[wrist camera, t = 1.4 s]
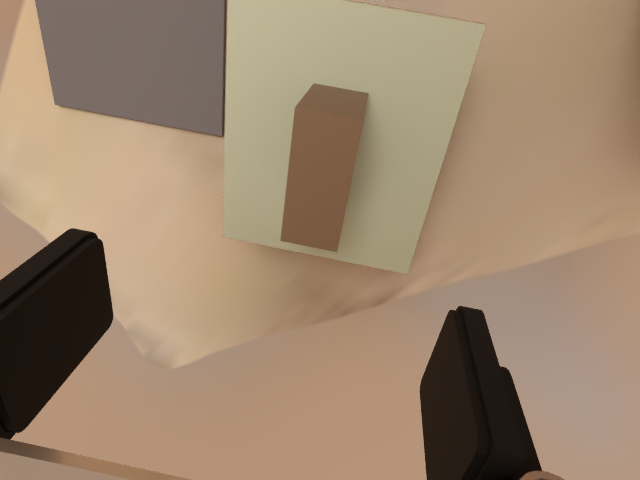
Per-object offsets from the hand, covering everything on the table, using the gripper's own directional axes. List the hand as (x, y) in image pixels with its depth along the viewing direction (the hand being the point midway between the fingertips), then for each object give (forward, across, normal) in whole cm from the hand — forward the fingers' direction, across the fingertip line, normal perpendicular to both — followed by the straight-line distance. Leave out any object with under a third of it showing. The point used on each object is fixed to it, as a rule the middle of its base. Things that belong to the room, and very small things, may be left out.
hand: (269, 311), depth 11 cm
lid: (+13, 0, -1) cm, 13 cm away
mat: (+19, +14, -5) cm, 24 cm away
